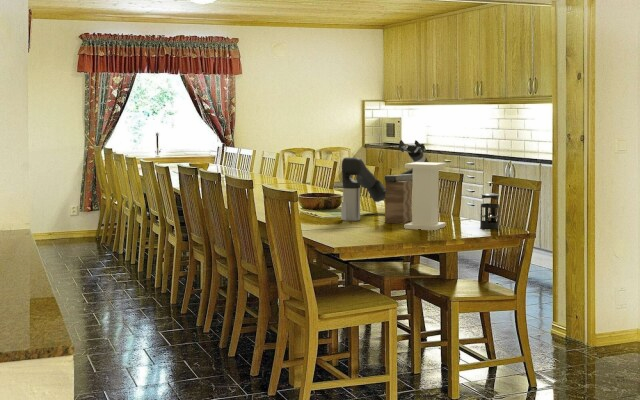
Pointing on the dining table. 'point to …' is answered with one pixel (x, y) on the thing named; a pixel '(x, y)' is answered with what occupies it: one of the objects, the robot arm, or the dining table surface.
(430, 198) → the tall stand
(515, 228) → the dining table surface
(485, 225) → the french press
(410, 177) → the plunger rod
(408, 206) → the low block
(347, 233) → the dining table surface
